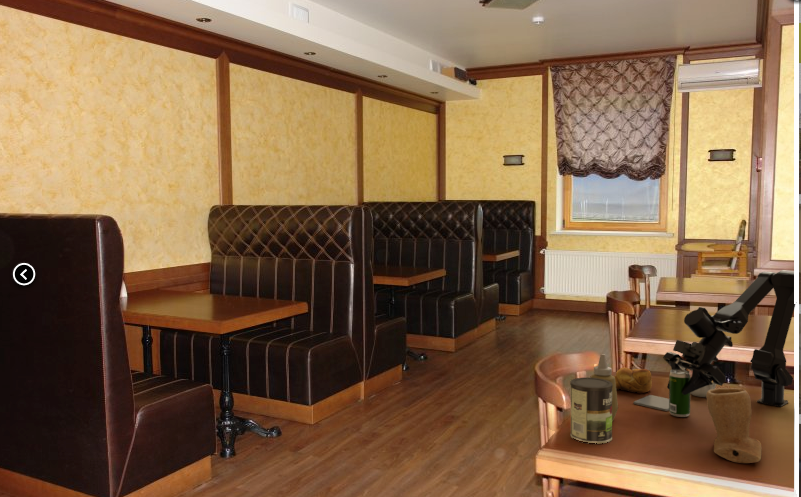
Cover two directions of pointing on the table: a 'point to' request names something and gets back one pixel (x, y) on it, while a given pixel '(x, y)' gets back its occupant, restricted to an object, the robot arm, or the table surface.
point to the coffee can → (591, 410)
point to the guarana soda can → (678, 393)
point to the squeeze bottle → (605, 373)
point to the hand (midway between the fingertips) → (675, 391)
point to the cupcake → (703, 390)
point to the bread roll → (633, 380)
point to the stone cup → (733, 425)
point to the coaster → (654, 402)
